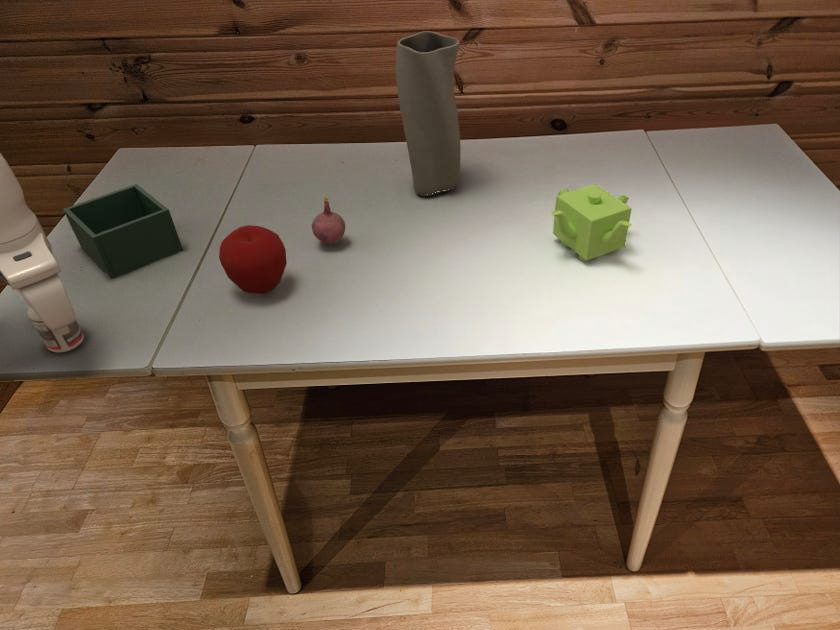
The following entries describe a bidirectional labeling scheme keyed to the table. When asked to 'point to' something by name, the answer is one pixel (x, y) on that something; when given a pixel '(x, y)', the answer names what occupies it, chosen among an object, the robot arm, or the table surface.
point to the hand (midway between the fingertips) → (55, 322)
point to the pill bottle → (51, 338)
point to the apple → (253, 259)
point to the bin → (124, 230)
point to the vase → (429, 109)
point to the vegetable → (328, 225)
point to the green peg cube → (591, 221)
